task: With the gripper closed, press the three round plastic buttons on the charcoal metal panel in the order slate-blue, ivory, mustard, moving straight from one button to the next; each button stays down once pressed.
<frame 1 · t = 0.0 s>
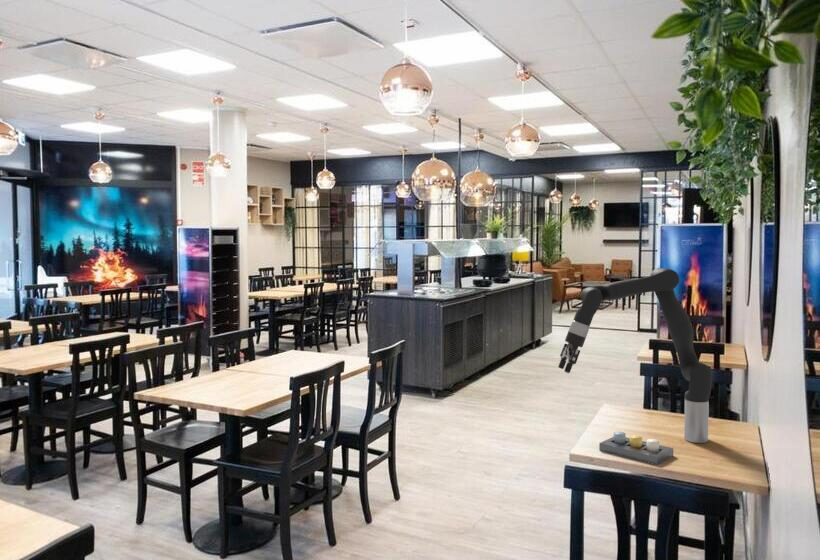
hand: (563, 370, 263), 31 cm above the table, tool tilted 20°, fingers open, 8 cm apart
button blue: (619, 438, 258), point 4 cm above the table, slide at 0.0 cm
button mustard: (635, 442, 253), point 4 cm above the table, slide at 0.0 cm
button ivory: (652, 446, 248), point 4 cm above the table, slide at 0.0 cm
panel: (635, 452, 253), on the table
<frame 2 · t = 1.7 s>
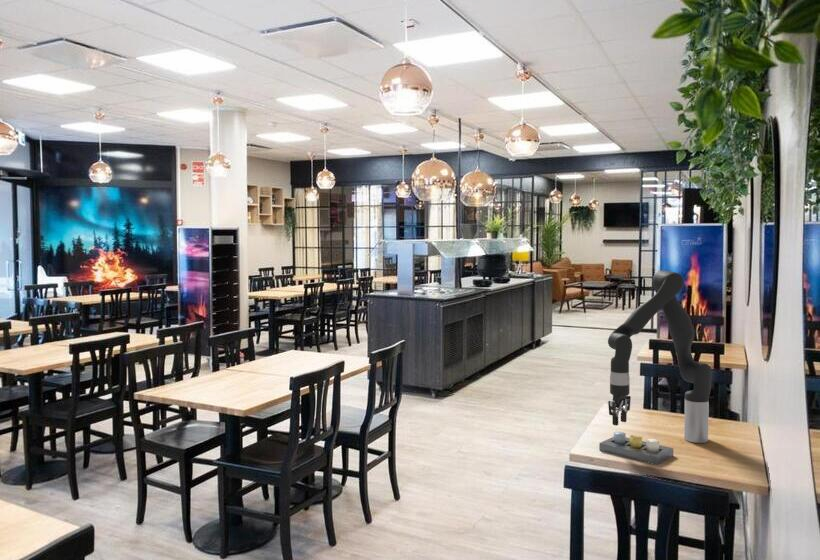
hand: (619, 423, 258), 11 cm above the table, tool pointing down, fingers open, 6 cm apart
nothing on the table moved.
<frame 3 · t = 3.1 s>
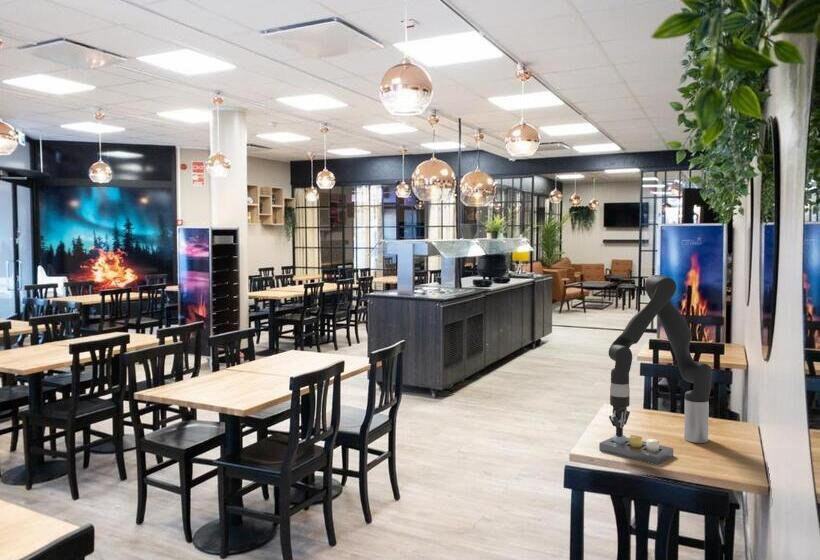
hand: (619, 436, 258), 5 cm above the table, tool pointing down, fingers closed
button blue: (619, 441, 258), point 3 cm above the table, slide at 1.2 cm, touching gripper
everything else where it was.
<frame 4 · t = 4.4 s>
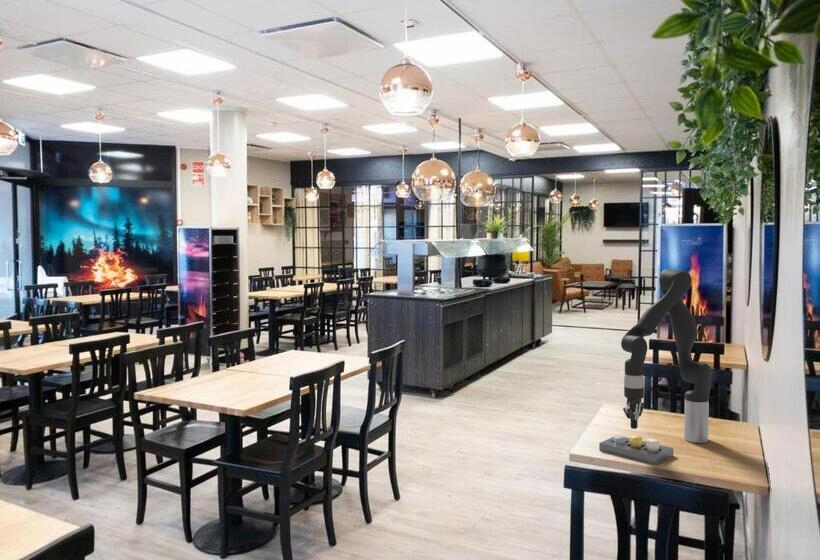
hand: (634, 428, 254), 10 cm above the table, tool pointing down, fingers closed
button blue: (619, 442, 258), point 3 cm above the table, slide at 1.7 cm
everything else where it was.
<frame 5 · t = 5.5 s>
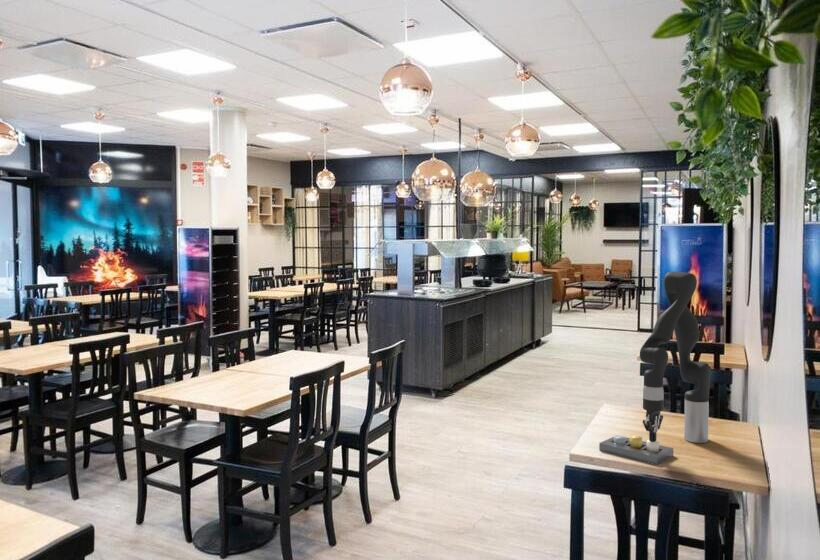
hand: (652, 441, 247), 6 cm above the table, tool pointing down, fingers closed
button ivory: (652, 446, 248), point 4 cm above the table, slide at 0.1 cm, touching gripper
everything else where it was.
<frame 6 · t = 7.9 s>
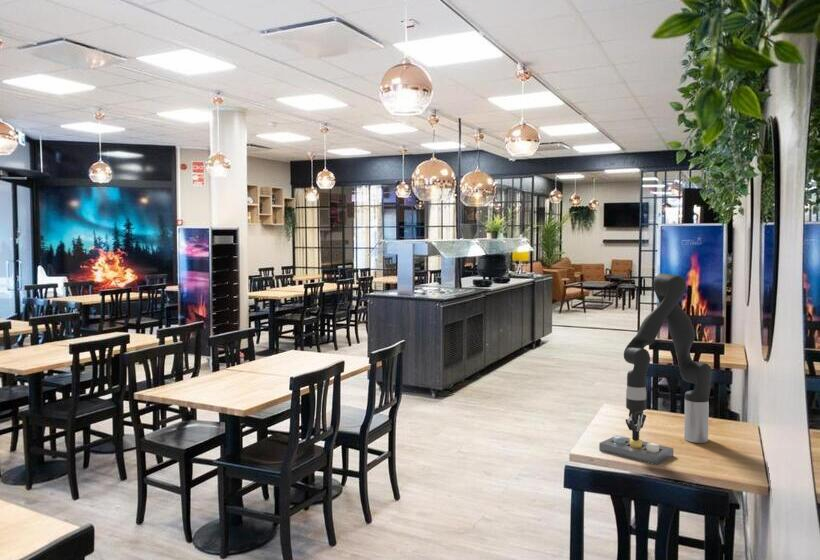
hand: (635, 440, 253), 5 cm above the table, tool pointing down, fingers closed
button mustard: (635, 445, 253), point 3 cm above the table, slide at 1.2 cm, touching gripper
button ivory: (652, 450, 248), point 3 cm above the table, slide at 1.7 cm
everything else where it was.
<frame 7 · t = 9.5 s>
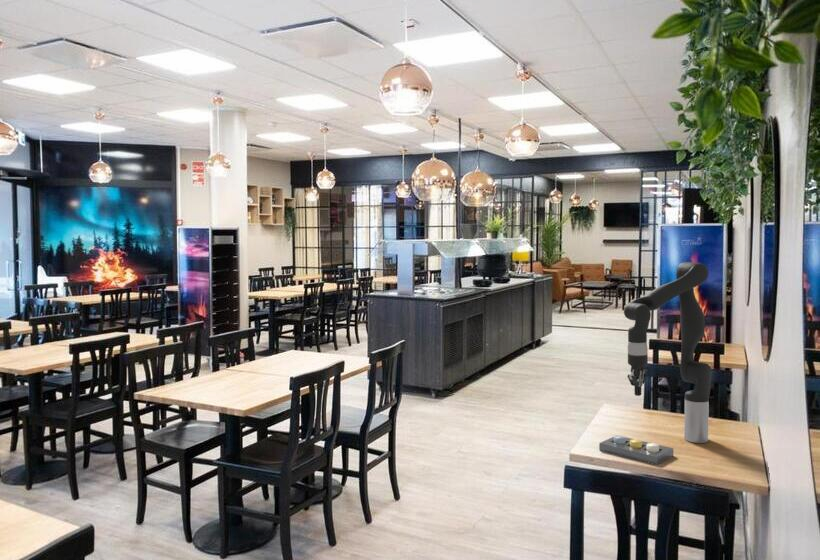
hand: (638, 395, 256), 22 cm above the table, tool pointing down, fingers closed
button mustard: (635, 446, 253), point 3 cm above the table, slide at 1.7 cm
everything else where it was.
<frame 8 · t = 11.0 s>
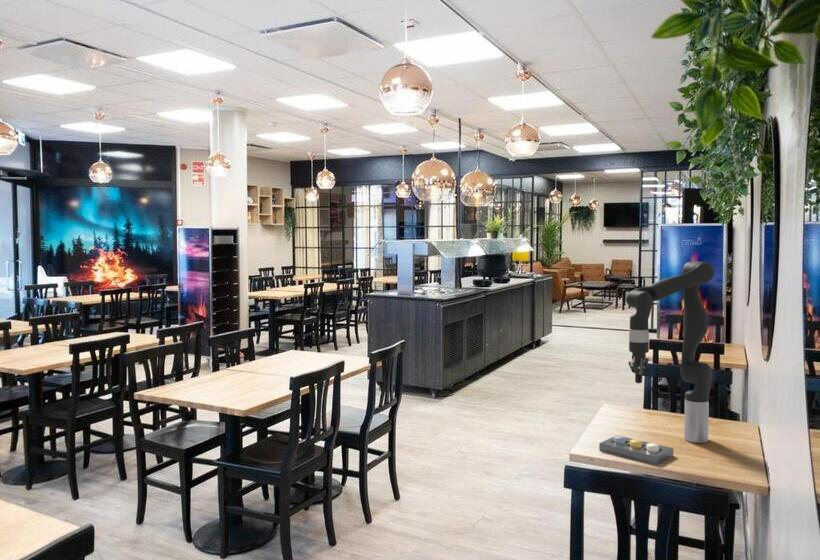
hand: (638, 382, 257), 27 cm above the table, tool pointing down, fingers closed
nothing on the table moved.
at the end: button blue slide at 1.7 cm; button ivory slide at 1.7 cm; button mustard slide at 1.7 cm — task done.
